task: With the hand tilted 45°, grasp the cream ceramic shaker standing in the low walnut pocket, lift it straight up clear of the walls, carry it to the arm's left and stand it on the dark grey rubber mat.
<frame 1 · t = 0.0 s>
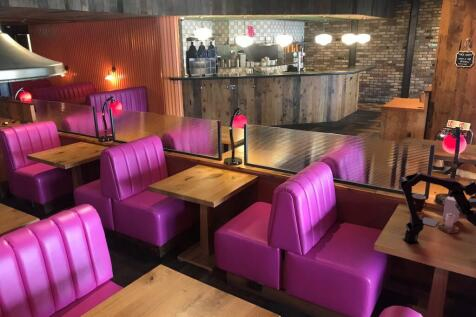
hand: (473, 222, 221), 15 cm above the table, tool tilted 35°, fingers open, 9 cm apart
skincare box: (449, 220, 260), on the table
grey mat: (429, 222, 255), on the table
coffee mug: (417, 211, 273), on the table
cream shaker: (449, 222, 244), in the walnut pocket
walnut pocket: (447, 229, 245), on the table
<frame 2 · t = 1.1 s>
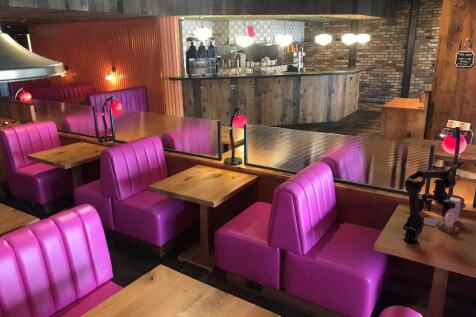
hand: (436, 214, 237), 13 cm above the table, tool pointing down, fingers open, 9 cm apart
nothing on the table moved.
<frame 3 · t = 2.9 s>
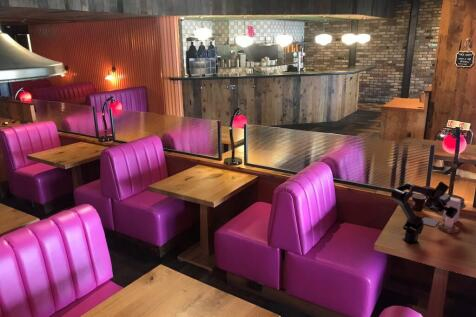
hand: (445, 214, 240), 11 cm above the table, tool tilted 45°, fingers open, 9 cm apart
nothing on the table moved.
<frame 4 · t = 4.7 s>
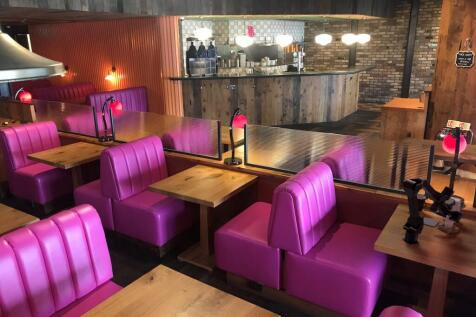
hand: (450, 219, 244), 7 cm above the table, tool tilted 45°, fingers closed on cream shaker, 4 cm apart
cream shaker: (449, 221, 244), in the walnut pocket, touching gripper
everything else where it was.
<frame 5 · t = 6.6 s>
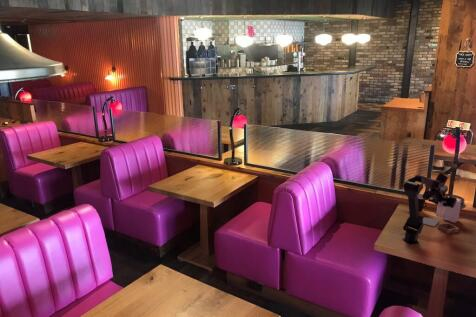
hand: (442, 205, 248), 14 cm above the table, tool tilted 45°, fingers closed on cream shaker, 4 cm apart
cream shaker: (441, 208, 248), point 12 cm above the table, touching gripper
everything else where it was.
when the fingers open (8 cm above the table, at t = 8.3 s): cream shaker stays where it is, resting on grey mat.
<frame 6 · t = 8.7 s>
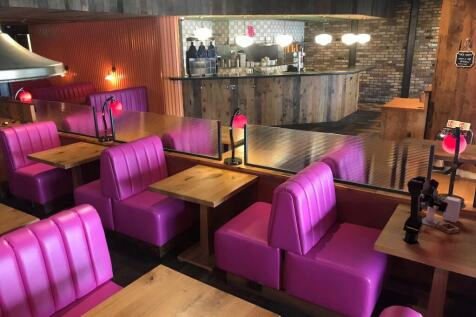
hand: (432, 209, 254), 9 cm above the table, tool tilted 45°, fingers open, 9 cm apart
cream shaker: (430, 213, 254), on the grey mat, point 6 cm above the table
everything else where it was.
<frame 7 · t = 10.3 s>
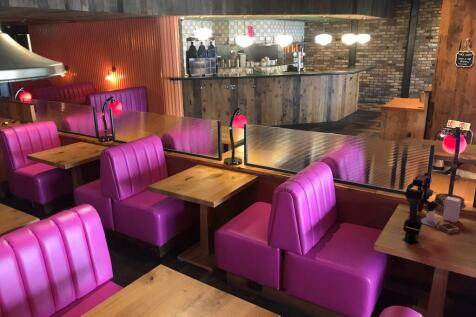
hand: (420, 209, 247), 11 cm above the table, tool tilted 25°, fingers open, 9 cm apart
nothing on the table moved.
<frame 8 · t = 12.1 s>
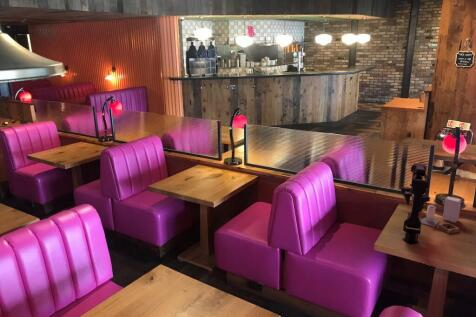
hand: (413, 207, 246), 13 cm above the table, tool pointing down, fingers open, 9 cm apart
nothing on the table moved.
at the end: cream shaker 0.6 cm from the grey mat (horizontally); cream shaker tilted 1°; cream shaker touching grey mat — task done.
